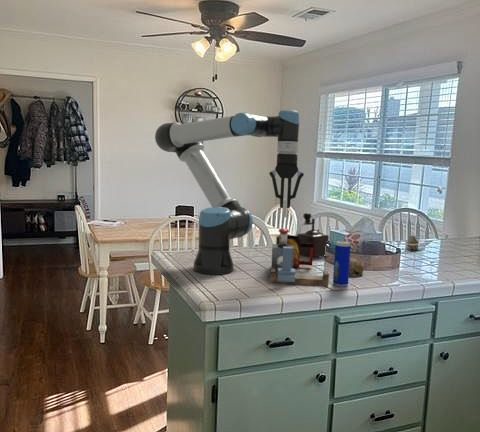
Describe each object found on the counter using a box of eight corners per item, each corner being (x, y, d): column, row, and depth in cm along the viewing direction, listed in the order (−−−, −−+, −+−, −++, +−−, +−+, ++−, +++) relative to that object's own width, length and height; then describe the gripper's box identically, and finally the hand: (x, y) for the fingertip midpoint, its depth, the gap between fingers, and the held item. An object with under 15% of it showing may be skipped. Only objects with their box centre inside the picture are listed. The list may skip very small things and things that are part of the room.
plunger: (278, 248, 180) (279, 229, 179) (278, 246, 184) (279, 228, 183) (287, 248, 180) (288, 230, 179) (287, 247, 183) (288, 228, 182)
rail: (270, 282, 168) (270, 271, 167) (270, 278, 173) (271, 267, 173) (328, 285, 166) (328, 274, 165) (326, 281, 171) (327, 270, 171)
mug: (313, 268, 191) (314, 238, 190) (281, 270, 187) (282, 239, 185) (301, 262, 200) (303, 234, 199) (271, 264, 196) (272, 235, 194)
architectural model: (420, 251, 237) (421, 236, 236) (410, 252, 234) (411, 236, 233) (414, 249, 240) (416, 235, 239) (404, 250, 237) (406, 235, 236)
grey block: (271, 274, 179) (272, 248, 177) (271, 269, 187) (272, 243, 186) (292, 275, 178) (294, 249, 177) (292, 270, 186) (293, 244, 185)
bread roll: (343, 285, 181) (350, 269, 177) (328, 268, 188) (334, 252, 184) (363, 283, 185) (370, 266, 181) (348, 266, 193) (354, 250, 189)
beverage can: (331, 282, 171) (333, 240, 169) (345, 282, 171) (348, 241, 169) (335, 286, 165) (337, 243, 163) (349, 286, 166) (352, 243, 164)
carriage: (277, 280, 166) (278, 249, 165) (277, 275, 174) (279, 244, 172) (294, 281, 166) (296, 250, 164) (294, 276, 173) (295, 245, 172)
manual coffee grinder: (329, 255, 216) (331, 216, 214) (311, 258, 210) (313, 217, 208) (305, 249, 229) (307, 212, 227) (288, 251, 223) (290, 213, 220)
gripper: (269, 152, 174) (266, 217, 177) (305, 153, 173) (302, 218, 176) (269, 152, 181) (267, 214, 184) (304, 153, 180) (301, 216, 183)
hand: (284, 216), depth 180 cm, fingers closed
